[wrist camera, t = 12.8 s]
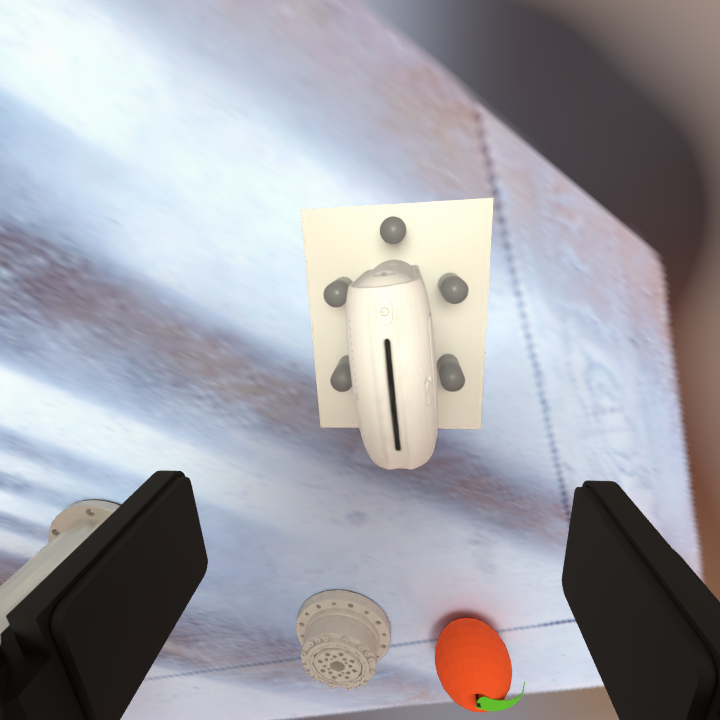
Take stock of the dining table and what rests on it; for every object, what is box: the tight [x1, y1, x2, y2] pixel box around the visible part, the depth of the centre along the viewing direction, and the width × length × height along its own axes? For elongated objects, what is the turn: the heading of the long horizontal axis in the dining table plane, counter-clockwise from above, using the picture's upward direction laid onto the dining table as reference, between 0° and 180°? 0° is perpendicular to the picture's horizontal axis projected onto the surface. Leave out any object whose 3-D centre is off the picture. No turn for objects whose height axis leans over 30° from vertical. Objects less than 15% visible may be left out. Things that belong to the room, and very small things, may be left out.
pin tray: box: [301, 198, 493, 429], centre depth 28 cm, size 17×13×5 cm
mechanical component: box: [296, 590, 390, 690], centre depth 39 cm, size 10×4×10 cm
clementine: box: [435, 618, 525, 712], centre depth 36 cm, size 8×7×7 cm
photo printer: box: [346, 260, 438, 470], centre depth 23 cm, size 10×4×12 cm, turn 7°
